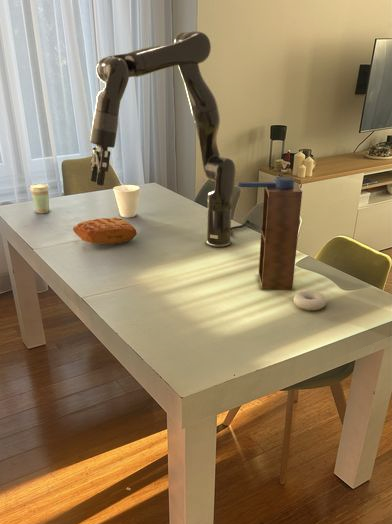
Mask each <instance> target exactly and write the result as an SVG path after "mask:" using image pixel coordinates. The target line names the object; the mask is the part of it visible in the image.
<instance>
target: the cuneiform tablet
mask: <svg viewBox="0 0 392 524" xmlns="http://www.w3.org/2000/svg"><path fill="white" fill-rule="evenodd" d="M72 231H73V232H74V233H75V235H76V236H77V237H78V238H79V239H81V240H82V241H84V242H87V243H90V244H97V245H99V244H100V245H116V244H122V243H125V242H129V241H131V240H132V239H134V238H135V237H136V236H137V234H138V233H137V229H136V227H135V226H133V225H132V224H131V223H130V222H128V221H126V219H123V218H118V217H117V216H115V217H100V218H95V219H88V220H83V221H80V222H78V223H77V224H76V225H74V226H73V228H72Z"/></svg>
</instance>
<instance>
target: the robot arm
mask: <svg viewBox="0 0 392 524" xmlns="http://www.w3.org/2000/svg"><path fill="white" fill-rule="evenodd" d="M211 50H212V44H211V40H210V38H209V36H208V35H207V34H205V32H202V31H198V30H189V31H188V30H187V31H180V32H178V33H177V34H176V36H175V37H174V41H173V43H168V44H161V45H154V46H149V47H143V48H139V49H137V50H132V51H130V52H127V53H121V54H115V55H108V56H105V57H103V58H101V59H100V60H99V61H98V63H97V65H96V75H97V77H98V79H99V80H100V81H101V82H103V83H105V85H104V88H103V90H100V91H99V92H98V94H97V96H96V103H95V110H94V114H93V119H92V126H91V131H90V141H89V142H90V143H91V144H94V145H96V146H93V147H92V153H91V159H90V167H91V172H90V181H91V182H93V183H95V184H96V185H97V186H104V185H105V179H106V174H107V173H108V172H109V165H110V161H111V159H110V158H111V154H112V153H111V151H110V150H109V148H111V149H113V148H115V146H116V139H117V132H118V127H119V113H120V108H121V107H120V106H121V101H122V99H123V96H124V95H125V91H126V89H127V87H128V83H129V79H130V78H140V77H143V76H147V75H150V74H153V73H155V72H159V71H162V70H165V69H169V68H172V67H176V66H178V69H179V71H180V74H181V77H182V81H183V83H184V87H185V92H186V95H187V98H188V103H189V106H190V111H191V115H192V119H193V123H194V127H195V131H196V136H197V140H198V143H199V148H200V155H201V162H202V168H203V172H204V175H205V177H206V178H207V179H208V180H209V181H212V182H215V184H214V185H215V186H214V190H210V191H209V192H208V193H207V216H206V217H207V218H206V219H207V223H206V225H207V226H206V228H207V229H206V244H207V245H208V246H210V247H213V248H225V247H228V246H230V245H231V236H232V230H236V229H241V228H244V227H246V226H247V224H249V223H250V220H249V219H245V221H244V223H243V224H241V225H236V226H235V225H234V226H232V200H233V195H234V193H235V184H236V176H237V175H236V173H237V172H236V171H237V170H236V169H237V168H236V165H235V162H234V160H233V159H231V158H229V157H225V156H221V154H220V151H219V146H218V143H217V141H218V140H217V138H218V132H219V129H220V124H221V117H220V112H219V106H218V103H217V100H216V97H215V95H214V94H213V92H212V90H211V88H210V87H209V85H208V84H207V82H206V81H205V79H204V78H203V75H202V72H201V70H200V65H199V64H202V63H204V62H206V60H208V58H209V56H210V54H211V52H212V51H211Z"/></svg>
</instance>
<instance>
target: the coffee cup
mask: <svg viewBox="0 0 392 524" xmlns="http://www.w3.org/2000/svg"><path fill="white" fill-rule="evenodd" d="M29 191H30V193H31V197H32V200H33V201H32V202H33V204H34V209H35V212H36V213H37V214H46V213H49V212H50V188H49V185H48V184H46V183H33V184H31V185H30V188H29Z"/></svg>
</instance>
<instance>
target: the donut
mask: <svg viewBox="0 0 392 524" xmlns="http://www.w3.org/2000/svg"><path fill="white" fill-rule="evenodd" d="M293 304H294V305H295V306H296V307H297V308H299V309H301V310H304V311H319V310H322V309H323V308H324V307H325V306H326V305H327V298H326V296H325V295H324V294H322V293H321V292H319V291H315V290H302V291H298V292H297V293H295V295H294V297H293Z"/></svg>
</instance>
